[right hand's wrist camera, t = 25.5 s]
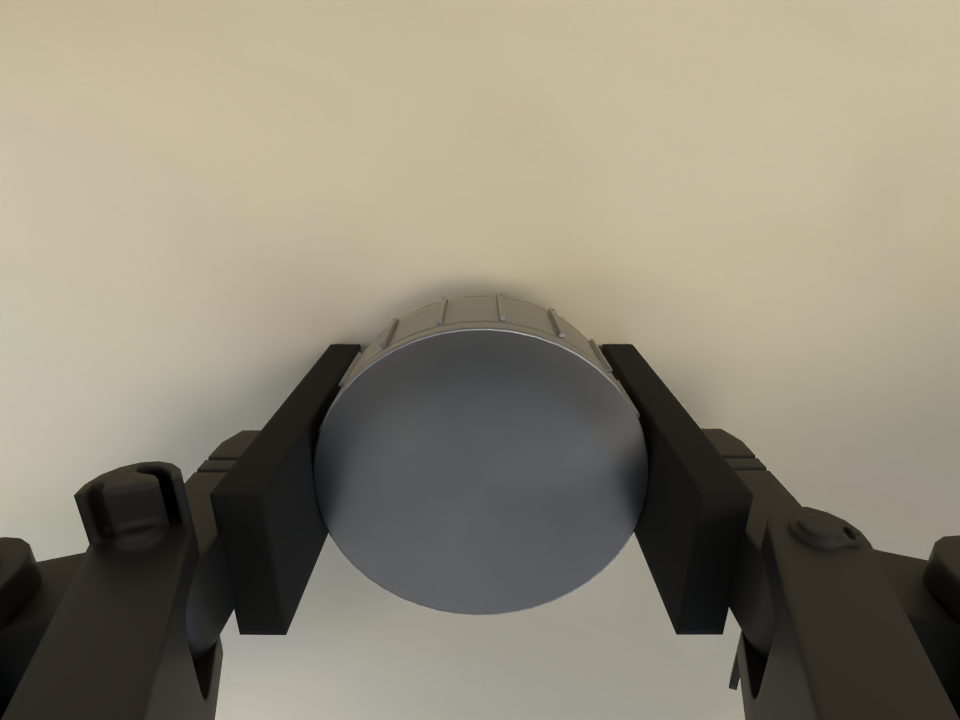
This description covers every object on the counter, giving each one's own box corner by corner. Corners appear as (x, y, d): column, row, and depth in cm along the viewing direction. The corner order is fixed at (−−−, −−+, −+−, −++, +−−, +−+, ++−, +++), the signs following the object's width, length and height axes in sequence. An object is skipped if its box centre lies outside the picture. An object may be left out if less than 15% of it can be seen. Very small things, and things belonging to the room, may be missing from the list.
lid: (371, 254, 11) (345, 278, 9) (670, 342, 11) (712, 383, 9) (314, 509, 13) (282, 577, 11) (566, 570, 14) (582, 645, 11)
